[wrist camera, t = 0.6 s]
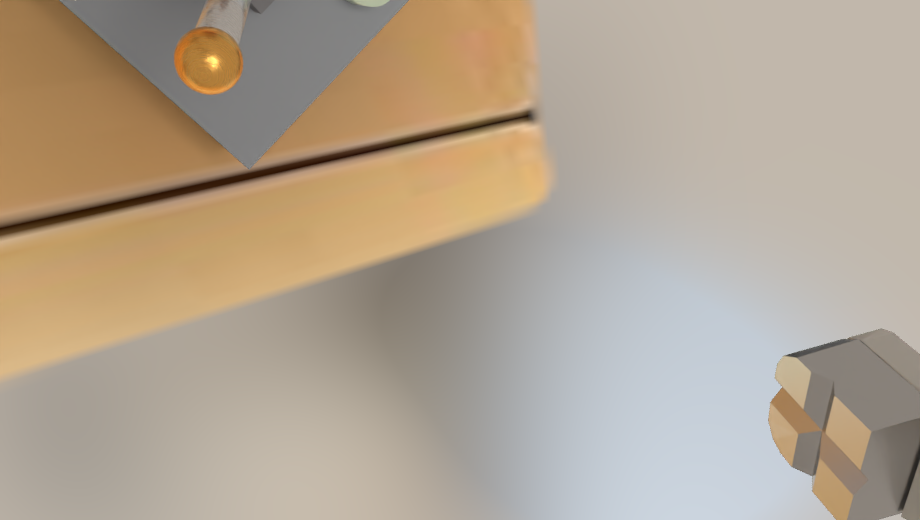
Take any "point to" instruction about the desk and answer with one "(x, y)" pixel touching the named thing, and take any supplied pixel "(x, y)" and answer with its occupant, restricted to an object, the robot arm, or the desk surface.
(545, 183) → the desk surface
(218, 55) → the lever
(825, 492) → the robot arm
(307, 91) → the console
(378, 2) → the button
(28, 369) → the desk surface
